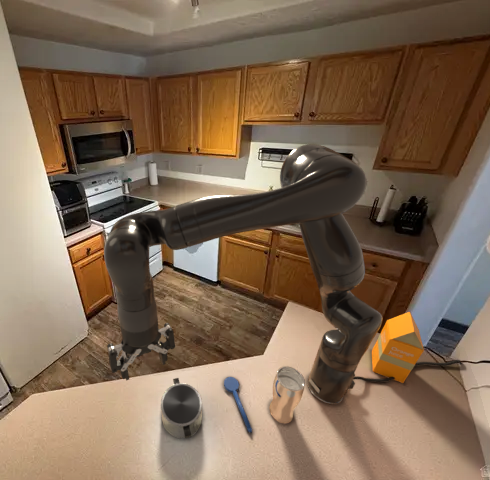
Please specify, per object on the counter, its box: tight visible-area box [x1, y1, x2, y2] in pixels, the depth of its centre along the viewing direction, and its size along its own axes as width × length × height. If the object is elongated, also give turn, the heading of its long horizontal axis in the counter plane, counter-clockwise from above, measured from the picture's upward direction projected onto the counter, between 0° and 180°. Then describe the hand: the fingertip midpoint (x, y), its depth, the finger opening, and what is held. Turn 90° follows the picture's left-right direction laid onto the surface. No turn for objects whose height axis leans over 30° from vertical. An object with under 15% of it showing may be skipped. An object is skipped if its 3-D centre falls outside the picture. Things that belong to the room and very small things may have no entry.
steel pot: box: [160, 377, 203, 439], centre depth 70 cm, size 11×15×6 cm
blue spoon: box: [223, 376, 253, 433], centre depth 73 cm, size 4×15×1 cm, turn 12°
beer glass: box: [269, 365, 306, 424], centre depth 68 cm, size 7×7×15 cm
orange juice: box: [371, 311, 425, 384], centre depth 77 cm, size 8×9×20 cm
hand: (145, 368), depth 58 cm, fingers open, 8 cm apart
